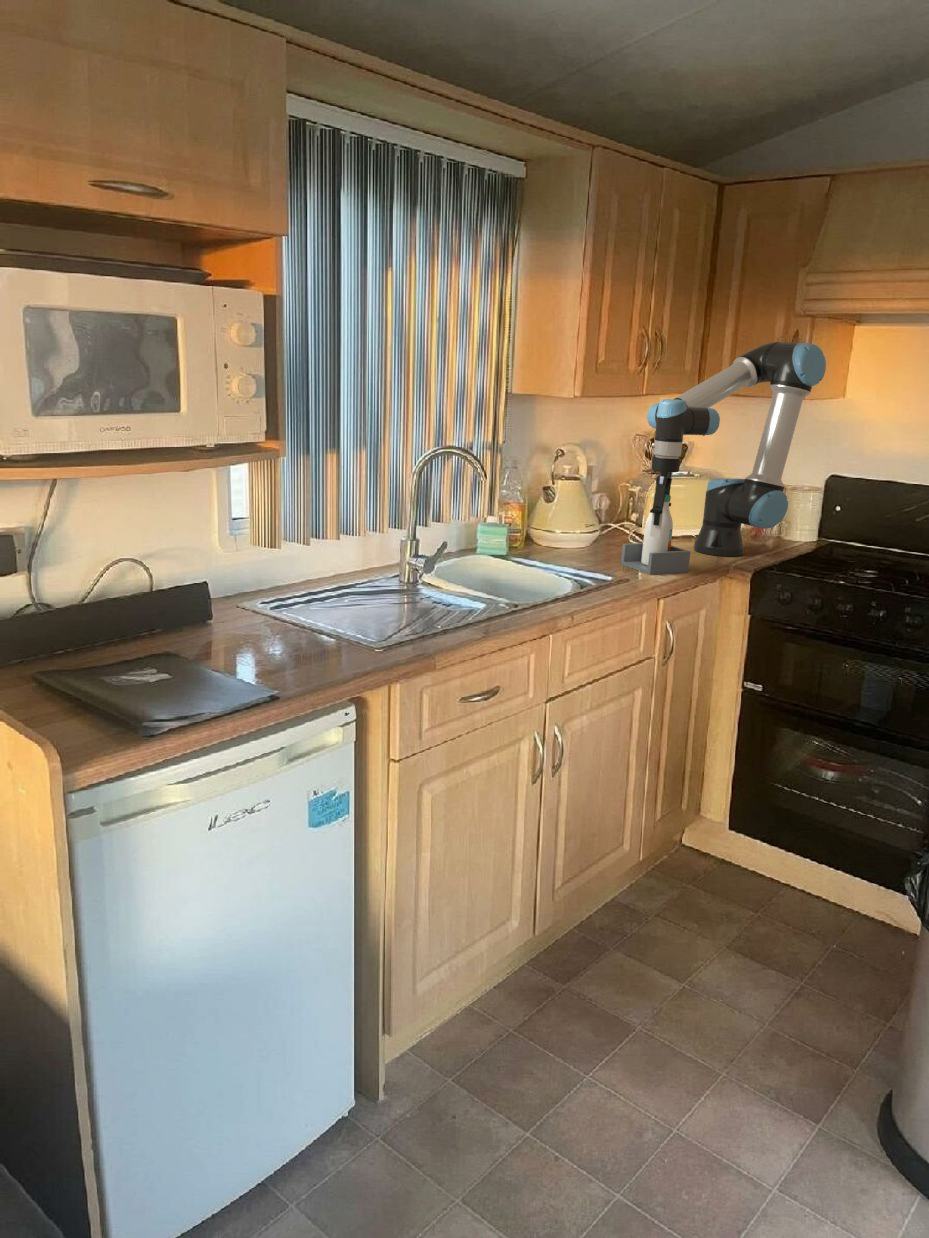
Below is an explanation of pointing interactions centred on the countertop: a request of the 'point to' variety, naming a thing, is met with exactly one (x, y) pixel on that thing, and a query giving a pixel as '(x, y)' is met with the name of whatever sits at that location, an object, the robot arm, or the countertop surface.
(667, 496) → the milk bottle
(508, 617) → the countertop surface
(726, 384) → the robot arm
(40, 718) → the countertop surface
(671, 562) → the tray
